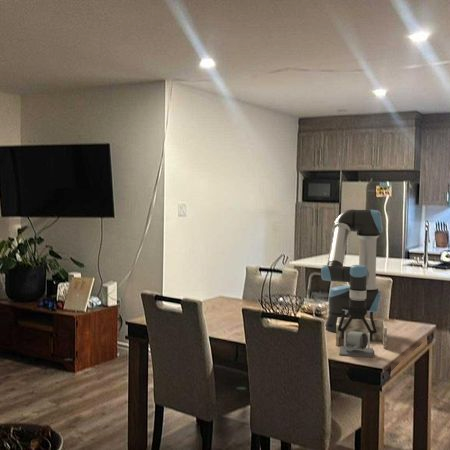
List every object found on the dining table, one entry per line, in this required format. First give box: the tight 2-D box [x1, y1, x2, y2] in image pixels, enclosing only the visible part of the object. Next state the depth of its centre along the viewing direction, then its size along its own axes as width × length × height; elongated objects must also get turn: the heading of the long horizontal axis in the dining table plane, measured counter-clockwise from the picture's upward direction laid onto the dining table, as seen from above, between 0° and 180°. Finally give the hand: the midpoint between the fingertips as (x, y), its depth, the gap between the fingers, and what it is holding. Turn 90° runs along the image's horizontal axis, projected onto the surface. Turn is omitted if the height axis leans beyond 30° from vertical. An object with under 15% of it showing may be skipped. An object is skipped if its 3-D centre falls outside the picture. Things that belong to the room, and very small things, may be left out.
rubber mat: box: [339, 345, 375, 359], centre depth 261 cm, size 15×13×1 cm
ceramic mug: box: [345, 331, 368, 351], centre depth 260 cm, size 11×8×8 cm
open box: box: [335, 317, 388, 350], centre depth 278 cm, size 23×17×10 cm
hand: (356, 346), depth 261 cm, fingers closed on ceramic mug, 10 cm apart
